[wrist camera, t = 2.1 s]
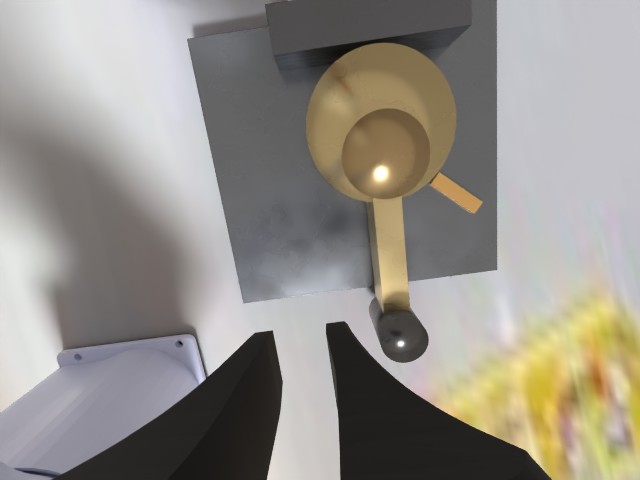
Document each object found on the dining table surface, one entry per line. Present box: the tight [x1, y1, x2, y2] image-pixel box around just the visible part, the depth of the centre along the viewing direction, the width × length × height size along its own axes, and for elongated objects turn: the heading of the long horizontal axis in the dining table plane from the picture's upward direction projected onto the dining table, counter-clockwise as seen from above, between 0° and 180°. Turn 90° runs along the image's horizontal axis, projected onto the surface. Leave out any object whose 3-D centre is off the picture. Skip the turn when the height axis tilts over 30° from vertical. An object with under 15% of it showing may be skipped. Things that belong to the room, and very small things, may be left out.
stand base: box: [187, 0, 497, 303], centre depth 16 cm, size 16×16×3 cm
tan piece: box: [306, 43, 456, 363], centre depth 15 cm, size 15×7×4 cm, turn 8°
